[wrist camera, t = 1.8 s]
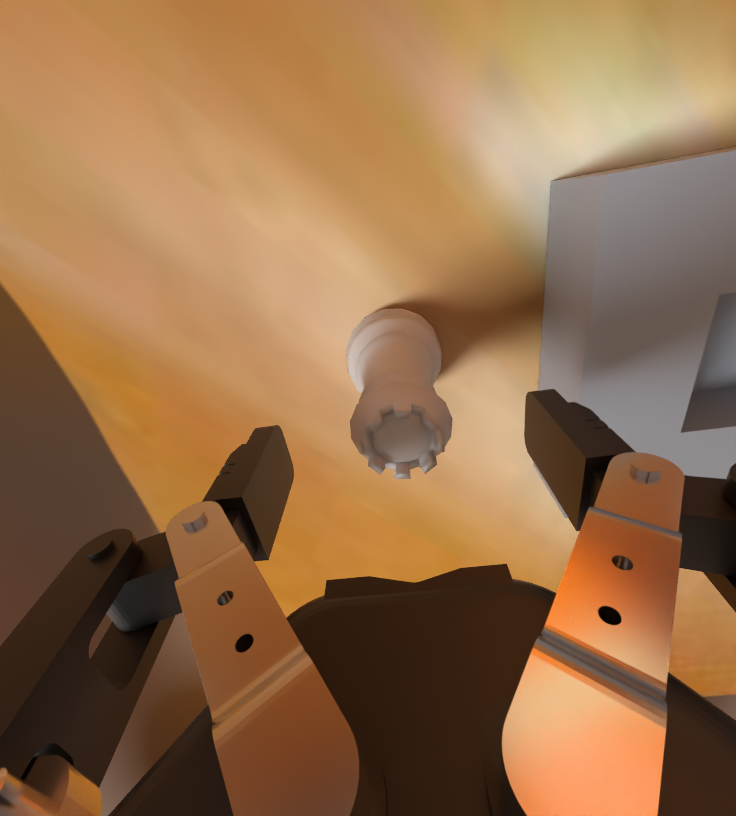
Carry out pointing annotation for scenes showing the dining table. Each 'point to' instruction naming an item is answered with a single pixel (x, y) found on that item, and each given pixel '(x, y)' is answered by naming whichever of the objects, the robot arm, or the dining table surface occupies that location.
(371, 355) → the rook chess piece
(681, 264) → the socket block
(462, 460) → the dining table surface
